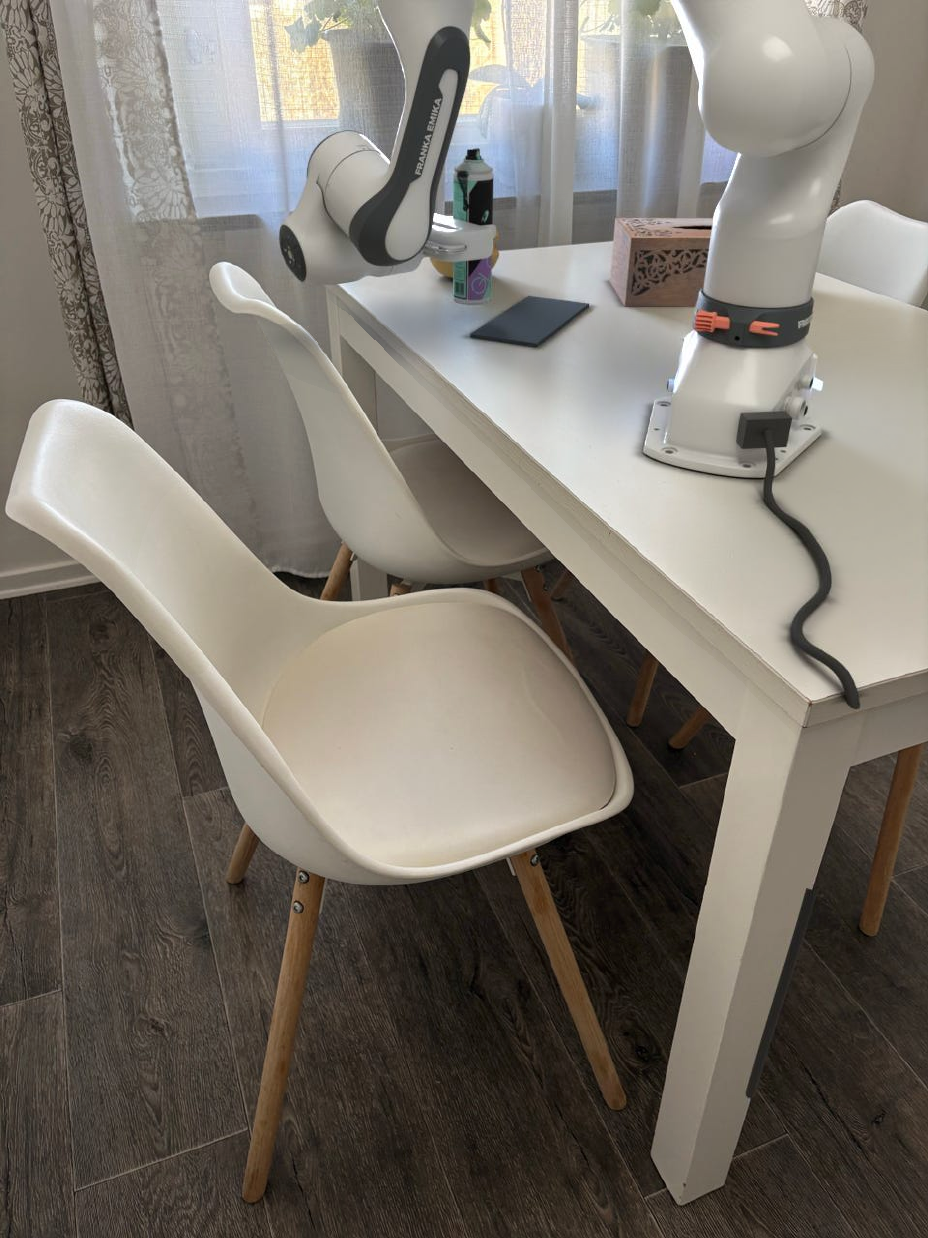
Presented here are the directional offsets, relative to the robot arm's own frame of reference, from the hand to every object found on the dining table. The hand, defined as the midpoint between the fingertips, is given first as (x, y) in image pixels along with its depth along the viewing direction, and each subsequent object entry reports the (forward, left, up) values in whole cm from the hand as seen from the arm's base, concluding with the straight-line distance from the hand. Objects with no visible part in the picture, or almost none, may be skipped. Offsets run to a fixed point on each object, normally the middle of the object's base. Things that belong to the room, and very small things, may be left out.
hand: (477, 226), depth 136 cm
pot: (+21, +12, -13) cm, 28 cm away
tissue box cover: (+28, -26, -13) cm, 41 cm away
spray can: (-1, 0, -10) cm, 10 cm away
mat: (+2, -8, -13) cm, 15 cm away
